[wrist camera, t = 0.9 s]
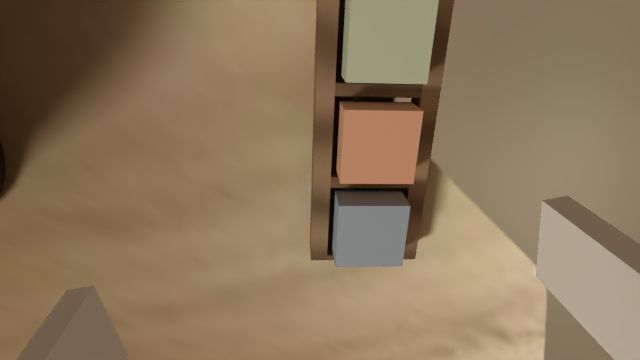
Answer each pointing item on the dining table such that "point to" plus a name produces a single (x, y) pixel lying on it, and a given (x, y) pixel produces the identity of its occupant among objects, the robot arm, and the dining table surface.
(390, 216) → the cap slate
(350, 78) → the cap sage
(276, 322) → the dining table surface
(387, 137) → the cap terracotta
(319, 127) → the button board
